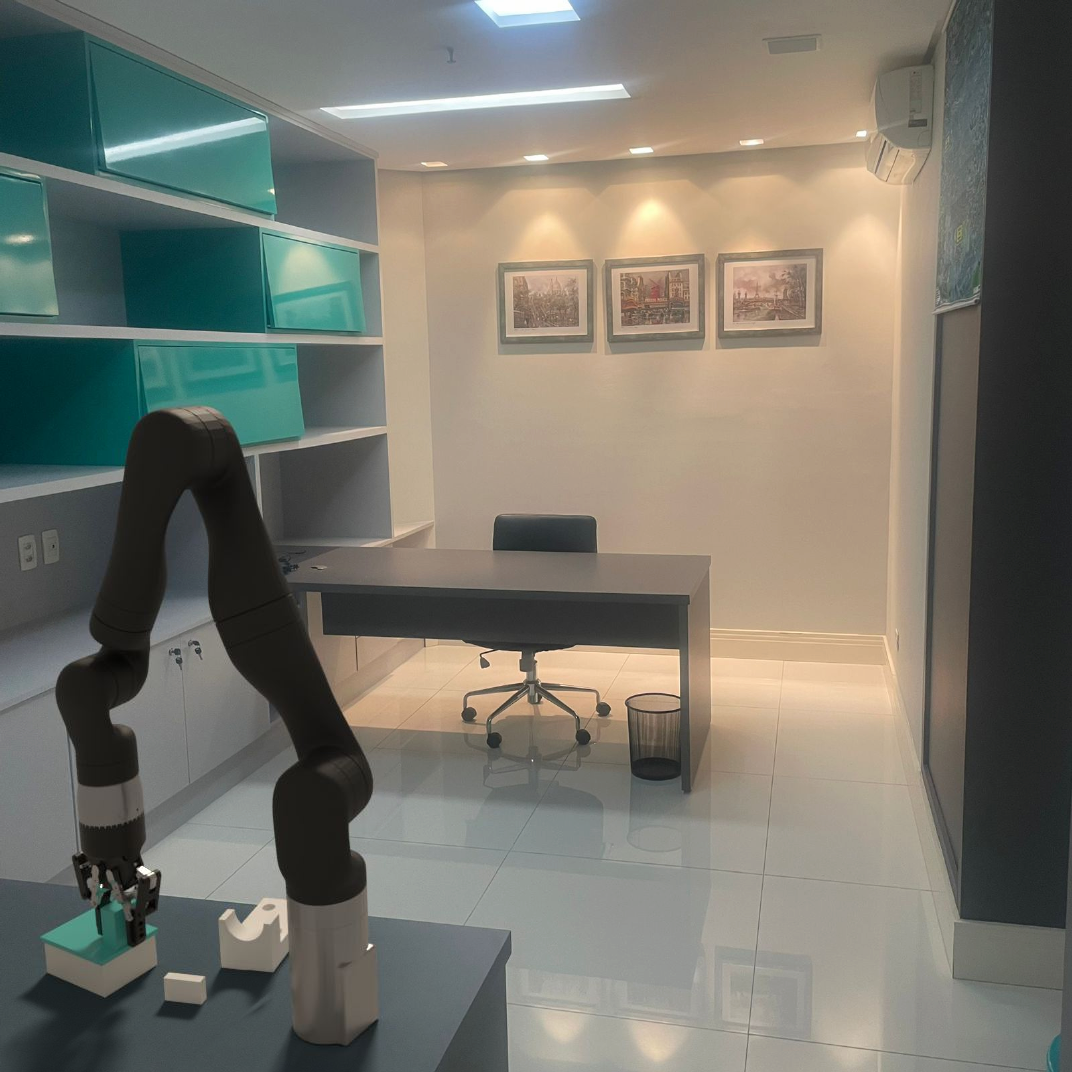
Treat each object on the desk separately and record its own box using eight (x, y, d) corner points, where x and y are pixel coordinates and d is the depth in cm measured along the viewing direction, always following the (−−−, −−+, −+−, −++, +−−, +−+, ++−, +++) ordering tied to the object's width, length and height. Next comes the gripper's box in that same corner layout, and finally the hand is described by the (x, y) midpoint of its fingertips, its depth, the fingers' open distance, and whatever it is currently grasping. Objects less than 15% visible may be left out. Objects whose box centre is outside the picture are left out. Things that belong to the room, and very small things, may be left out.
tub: (157, 968, 136) (154, 933, 135) (105, 1001, 129) (102, 964, 128) (100, 946, 141) (97, 911, 140) (47, 976, 134) (44, 940, 133)
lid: (158, 932, 135) (155, 892, 134) (101, 966, 128) (98, 923, 127) (98, 910, 141) (94, 871, 140) (40, 941, 133) (36, 900, 132)
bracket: (273, 979, 134) (270, 924, 133) (221, 973, 135) (218, 919, 134) (313, 925, 146) (310, 875, 145) (265, 921, 148) (262, 870, 146)
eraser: (170, 999, 130) (168, 972, 129) (207, 1003, 129) (205, 976, 128) (165, 1005, 128) (163, 978, 128) (202, 1009, 127) (200, 982, 127)
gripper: (176, 811, 129) (185, 938, 132) (98, 788, 136) (108, 910, 139) (125, 835, 122) (136, 969, 125) (46, 810, 129) (58, 937, 132)
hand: (121, 937), depth 132 cm, fingers open, 5 cm apart
